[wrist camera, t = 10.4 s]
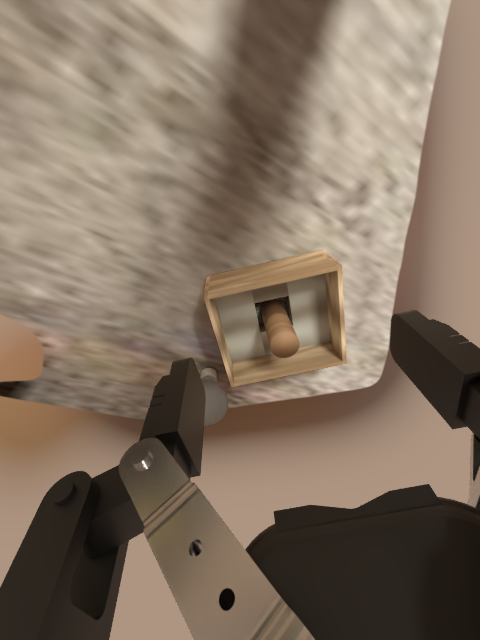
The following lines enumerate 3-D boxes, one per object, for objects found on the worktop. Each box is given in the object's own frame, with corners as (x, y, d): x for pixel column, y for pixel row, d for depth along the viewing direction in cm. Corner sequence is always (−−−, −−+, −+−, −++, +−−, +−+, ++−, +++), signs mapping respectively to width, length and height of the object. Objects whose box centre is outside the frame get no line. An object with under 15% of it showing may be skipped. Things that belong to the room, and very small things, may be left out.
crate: (206, 276, 39) (203, 296, 33) (322, 249, 38) (341, 265, 32) (230, 357, 45) (231, 387, 39) (329, 336, 44) (346, 363, 38)
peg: (258, 300, 41) (268, 336, 32) (281, 295, 41) (297, 330, 32) (262, 321, 43) (273, 360, 34) (284, 316, 42) (301, 354, 34)
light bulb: (234, 369, 46) (237, 416, 38) (212, 392, 48) (210, 441, 40) (205, 351, 44) (200, 395, 36) (183, 375, 46) (174, 423, 38)
